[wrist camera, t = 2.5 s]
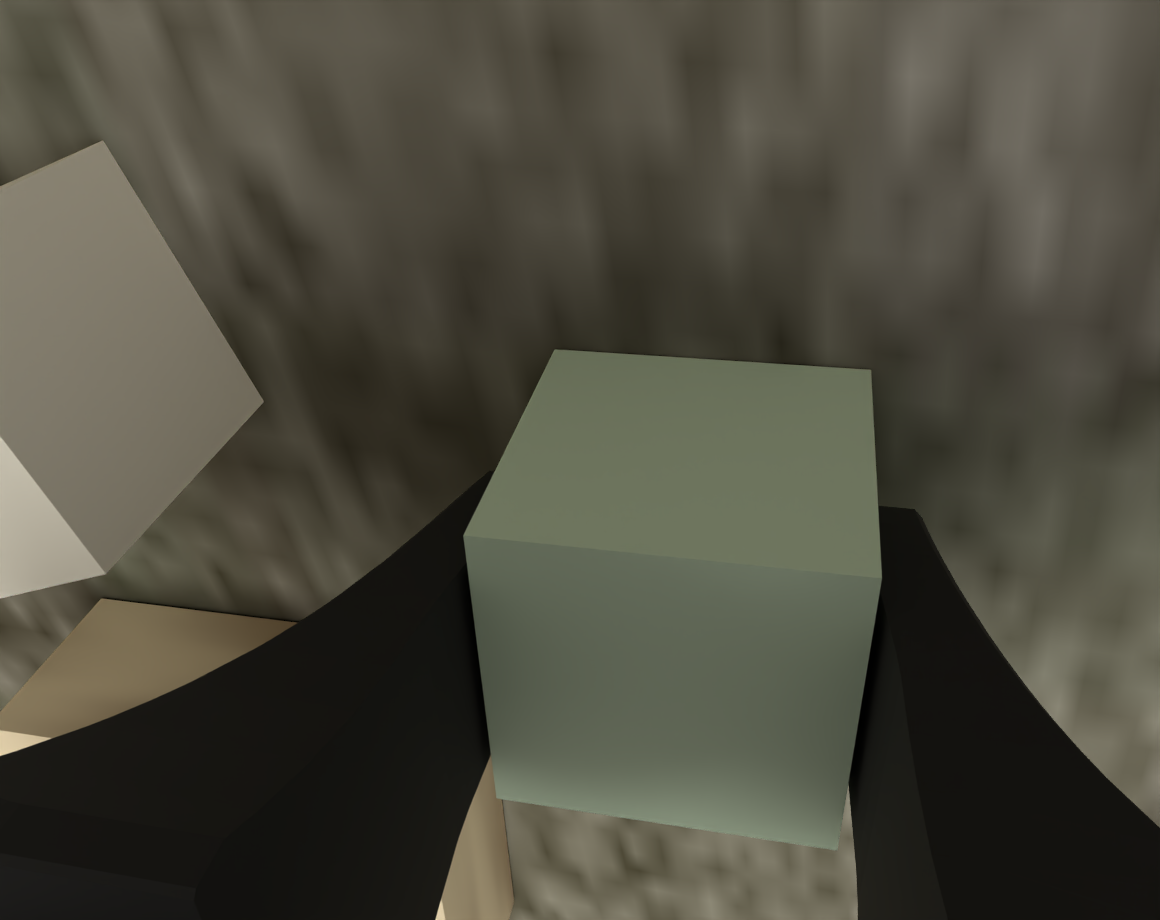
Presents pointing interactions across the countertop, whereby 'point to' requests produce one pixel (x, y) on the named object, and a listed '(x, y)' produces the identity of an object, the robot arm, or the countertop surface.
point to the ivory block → (98, 374)
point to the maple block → (181, 655)
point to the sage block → (681, 592)
